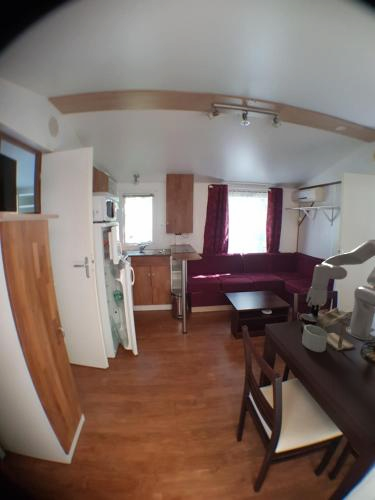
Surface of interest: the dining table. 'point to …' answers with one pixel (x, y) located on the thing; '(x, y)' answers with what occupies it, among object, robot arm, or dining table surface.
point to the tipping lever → (331, 317)
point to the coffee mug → (306, 321)
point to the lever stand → (338, 338)
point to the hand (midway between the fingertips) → (314, 314)
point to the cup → (314, 338)
